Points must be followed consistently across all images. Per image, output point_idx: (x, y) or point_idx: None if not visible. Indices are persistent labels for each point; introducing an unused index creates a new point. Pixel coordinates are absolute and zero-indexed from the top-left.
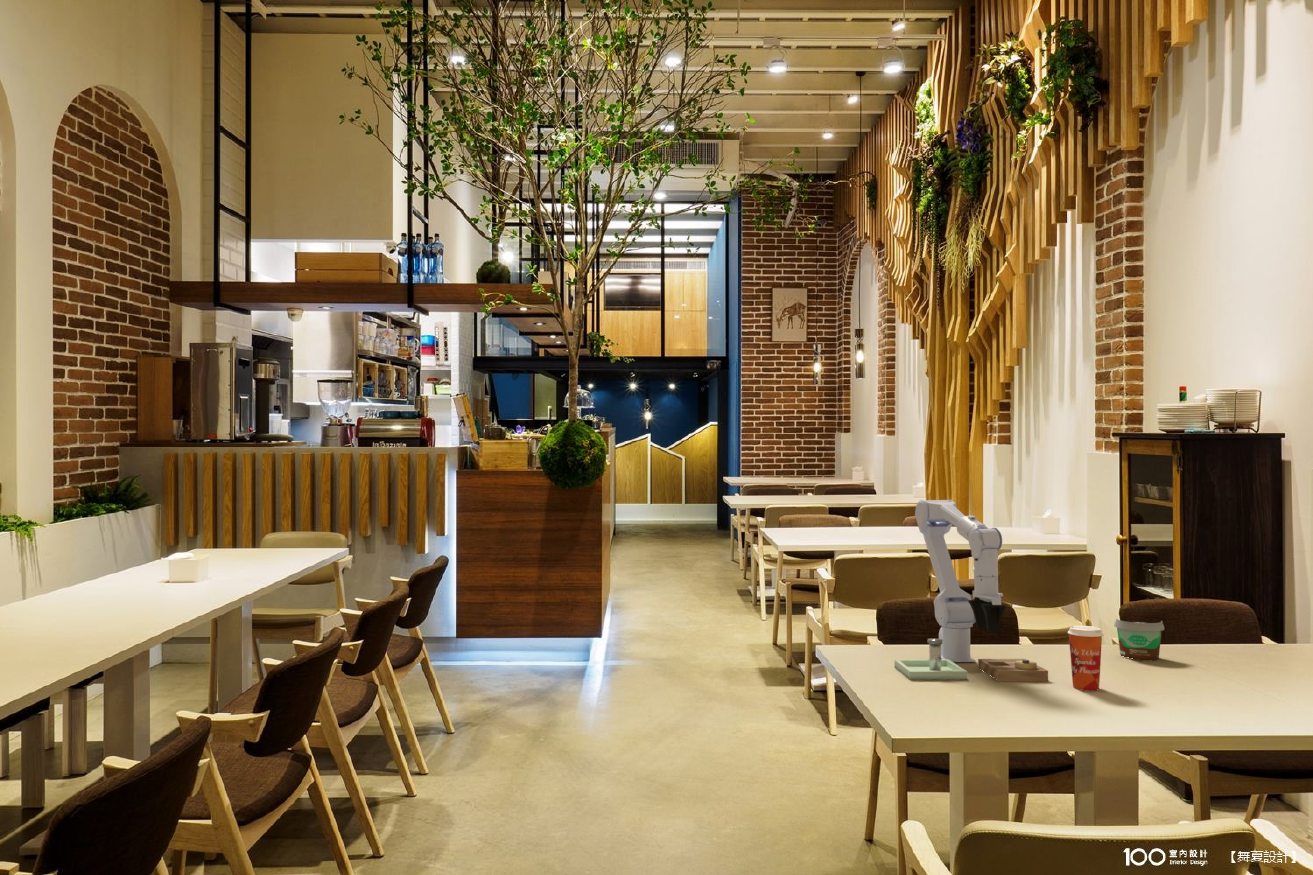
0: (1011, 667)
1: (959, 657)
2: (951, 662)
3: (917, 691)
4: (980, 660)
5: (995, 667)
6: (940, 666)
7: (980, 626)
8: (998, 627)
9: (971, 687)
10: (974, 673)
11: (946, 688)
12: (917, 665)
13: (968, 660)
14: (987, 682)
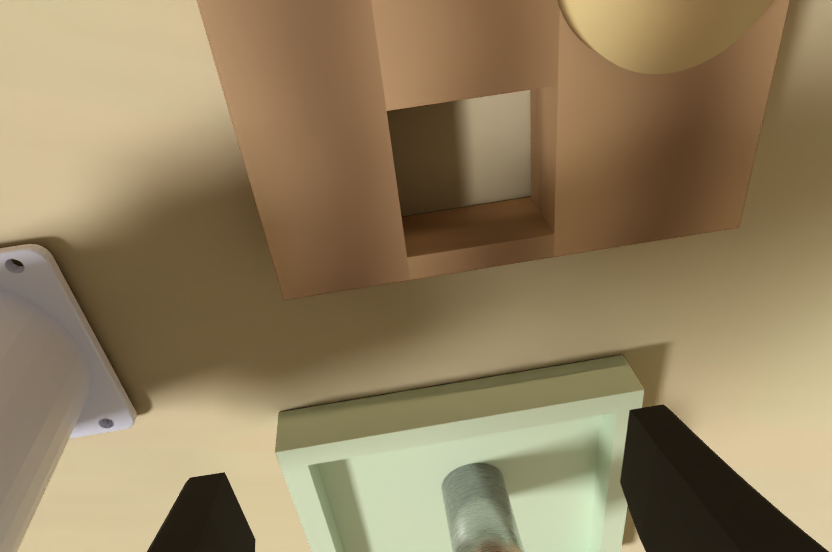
0: (632, 97)
1: (77, 371)
2: (377, 442)
3: (800, 528)
4: (337, 289)
5: (617, 227)
6: (498, 491)
7: (241, 539)
8: (712, 451)
9: (800, 353)
10: (452, 298)
11: (785, 446)
12: (340, 543)
13: (62, 301)
14: (709, 262)
